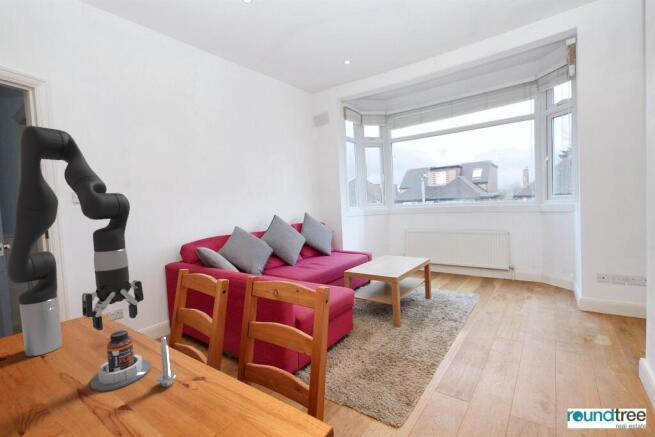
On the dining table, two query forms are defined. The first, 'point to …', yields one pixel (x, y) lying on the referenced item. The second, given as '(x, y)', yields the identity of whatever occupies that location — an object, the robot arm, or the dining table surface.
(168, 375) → the screw
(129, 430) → the dining table surface
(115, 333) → the supplement bottle
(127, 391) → the dining table surface
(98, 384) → the bottle coaster
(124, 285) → the robot arm
